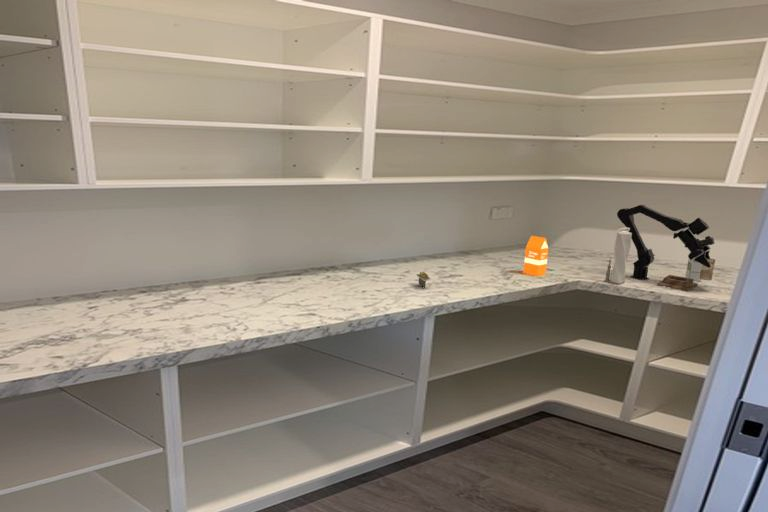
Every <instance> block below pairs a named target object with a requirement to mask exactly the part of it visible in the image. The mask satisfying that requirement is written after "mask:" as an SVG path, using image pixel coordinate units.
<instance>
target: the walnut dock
mask: <svg viewBox="0 0 768 512" xmlns="http://www.w3.org/2000/svg"><path fill="white" fill-rule="evenodd" d="M685 277H686V276H685ZM685 277H683V276H678V275H673V274H668V275H667V276H665V277H663V278H662V279H661V281H659V282H657V285H656V286H658V285H659V287H663V286H665V288H668V287H670V289H673V288H675V289H674V290H678V289H681V290H680V291H684V290H685V291H684V292H689V290H690V291H692V288H693V287H694V288H695V287H697V286H698V283H699V282H694V281H693V279H690V278H685ZM696 285H697V286H696ZM694 288H693V289H694Z"/></svg>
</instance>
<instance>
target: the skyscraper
mask: <svg viewBox="0 0 768 512" xmlns="http://www.w3.org/2000/svg"><path fill="white" fill-rule="evenodd" d="M624 229H626V230H624ZM627 229H628V230H627ZM629 230H630V228H626V227H621V228H619V229H617V232H616V235H615V241H614V247H613V258H614V261H613V262H614V263H613V266H611V262H612V261H611V257H610V258H609V260H608V265H607V271H606V274H605V276H606V277H605V280H604V282H605V283H610V284H613V285H622V284H625V282H626V261H627V259H628V257H629V253H630V249H631V245H632V239H631V237H632V233H630V232H628V231H629ZM611 267H612V270H611Z"/></svg>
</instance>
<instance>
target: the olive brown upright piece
mask: <svg viewBox="0 0 768 512" xmlns="http://www.w3.org/2000/svg"><path fill="white" fill-rule="evenodd" d="M415 277H417V278H418V285H419V284H420V285H421V286H420V285H419V286H420V287H422V286H423V287H424V288H425V289H426V283H427V282H428V281H430V280H431V277H429V274H427V273H426V272H424V271H420V272H419V273H417V274H416V276H415ZM423 287H422V288H423ZM424 288H423V289H424Z"/></svg>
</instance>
